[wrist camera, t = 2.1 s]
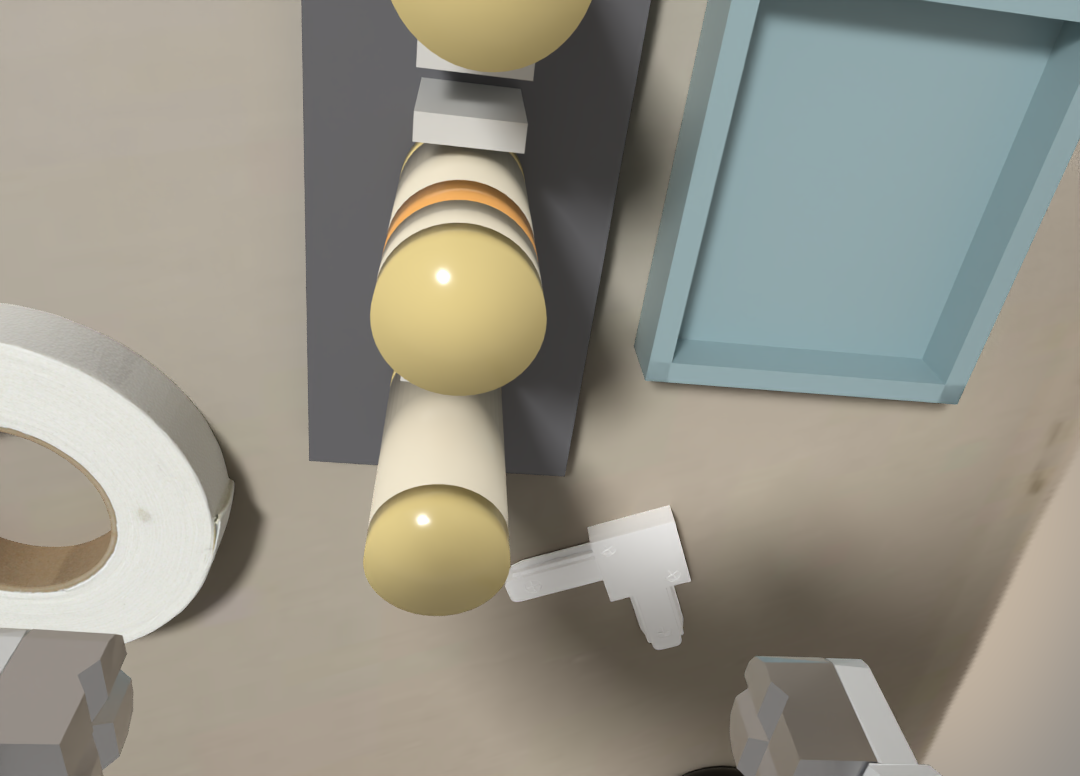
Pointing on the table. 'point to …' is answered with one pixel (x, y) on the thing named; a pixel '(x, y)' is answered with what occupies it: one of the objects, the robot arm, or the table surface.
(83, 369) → the roll of tape
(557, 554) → the corner connector
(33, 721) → the robot arm
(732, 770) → the supplement bottle
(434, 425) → the fuse
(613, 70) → the clip block
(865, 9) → the tray
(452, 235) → the cylinder
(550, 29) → the fuse
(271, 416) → the table surface
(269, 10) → the table surface
